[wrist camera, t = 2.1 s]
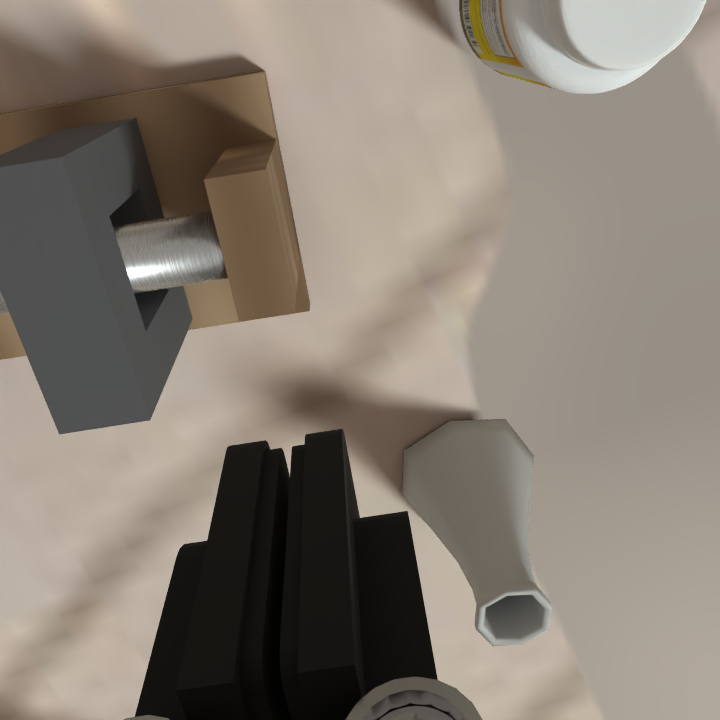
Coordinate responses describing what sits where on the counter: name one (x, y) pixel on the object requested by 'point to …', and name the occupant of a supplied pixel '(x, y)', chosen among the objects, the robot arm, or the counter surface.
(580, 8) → the supplement bottle
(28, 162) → the rubber collar
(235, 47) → the counter surface
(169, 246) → the steel pipe
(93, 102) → the pipe stand
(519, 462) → the flask
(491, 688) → the counter surface
